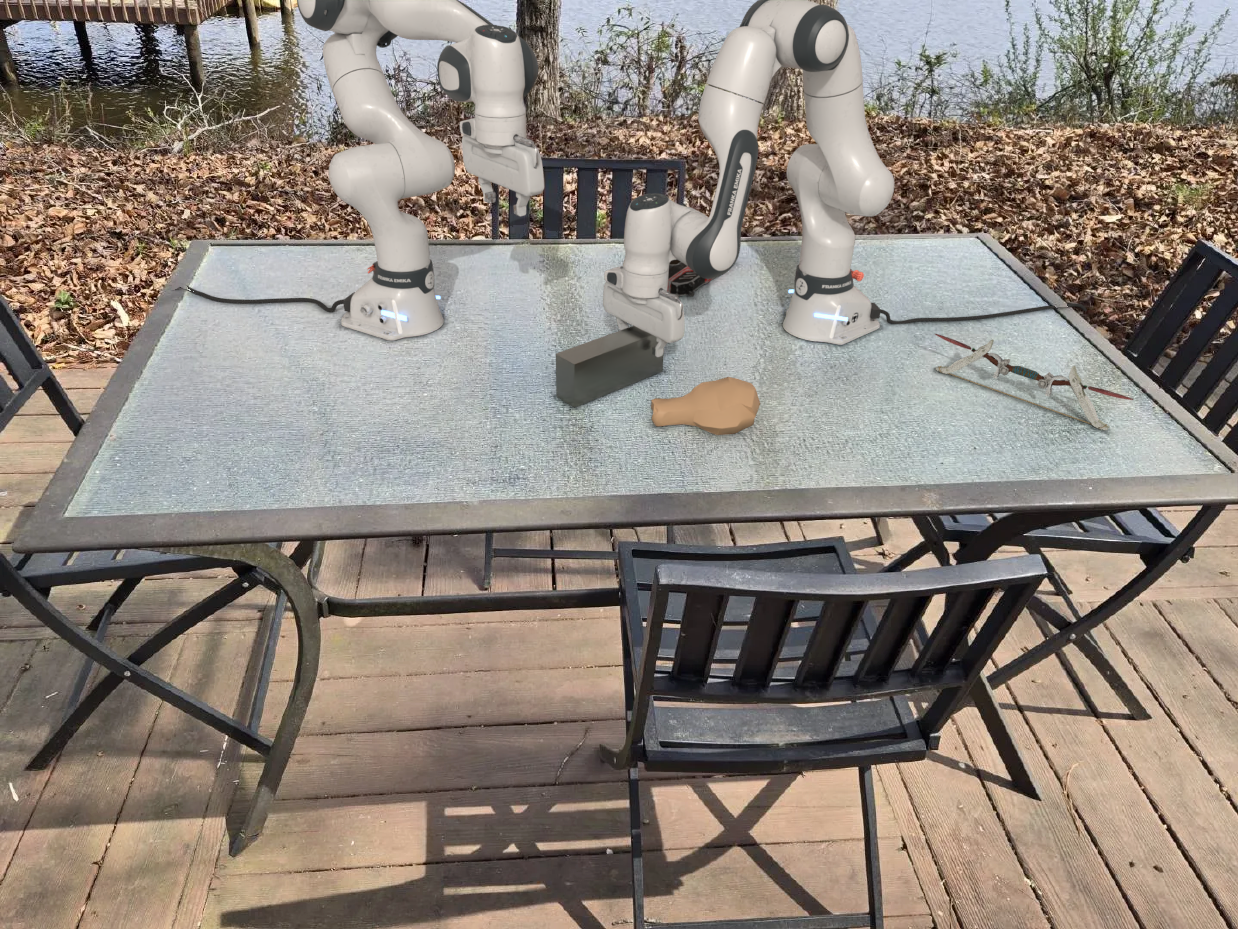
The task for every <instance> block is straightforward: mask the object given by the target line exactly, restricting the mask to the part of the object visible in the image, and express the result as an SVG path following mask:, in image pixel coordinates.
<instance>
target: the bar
mask: <svg viewBox="0 0 1238 929" xmlns="http://www.w3.org/2000/svg"><path fill="white" fill-rule="evenodd" d="M656 339H657V337H655V336H653V335H651V334H649V333H647V332H645V331H643V330H641V329H639V328H637V327H635V326H633V325H631V326H628V328H626V329H623V330H618V331H615V332H612V333H609V334H606V335H604V336H601V337H598V338H595V339H592V340H590V341H587V342H584V343H581V344H579V345H575V346H573V347H570V348H567V349H565V350H562V351H559V352H557V353H555V395H556V398H557V399H559V400H561V401H562V402H564V403H565V404H567V405H568V406H570V407H572V408H574V409H575V408H578V407H580V406H583V405H585V404H588V403H591V401H592V402H593V401H595V400H597V399H600V398H602V397H605V396H607V395H609V394H612V393H615V392H616V391H617V392H618V391H619V390H622V389H624V388H627V387H629V386H632V385H634V384H636V383H639V382H641V381H643V380H646V379H649V378H651V377H653V376H655V375H658V374H660V373H661V374H662V373H663V372H664V358H665V357H664V355H665V350H664V351H663V355H662V356H660V357H657V356H655V355H653V354H652V347H654V346H656V345H657V344H658V342H657V341H656Z"/></svg>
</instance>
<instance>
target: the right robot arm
mask: <svg viewBox="0 0 1238 929" xmlns="http://www.w3.org/2000/svg"><path fill="white" fill-rule="evenodd" d="M781 68H790V69H796V70H802V85H803V86H802V87H803V99H804V100H803V101H804V110H805V111H804V112H805V125H806V129H807V132H808V134H809V135H810V137H811V139H812V140H813V141H814V142H815V143H805V144H803V145H801V146H799V147H798V148H796V149H795V151H794V152H793V153H792V155H791V156H790V158H789V160H788V163H787V166H786V179H787V182H788V184H789V185H790V187H791V189H792V190H793V193H794V194H795V197H796V200H797V203H798V208H799V212H800V219H801V228H802V230H801V232H802V233H801V244H800V245H801V246H800V252H799V262H798V264H797V265H796V268H795V273H794V280H793V281H794V286H793V289H788V294H791V299H790V302H789V306H788V309H787V310H786V312H785V317H784V319H783V322H782V328H783V329H784V331H786V332H787V333H788V334H790V335H791V336H793V337H796V338H799V339H801V340H805V341H811V342H819V343H827V344H828V343H829V344H833V345H839V346H841V345H842V346H843V345H845V344H848V343H849V342H852V341H855V340H857V339H860V338H861V337H863V336H866V335H868V334H870V333H872V332H874V331H877V330H878V329H881V328H880V327H881V324H880V321H879V319H880V317H881V315H884V316H885V319H886V322H887V323H888V324H891V325H907V324H913V323H923V322H924V323H927V322H929V323H930V322H961V321H962V322H963V321H975V320H976V321H977V320H985V319H986V320H987V319H995V318H1000V317H1001V318H1002V317H1006V316H1007V317H1008V316H1014V315H1020V314H1027V313H1032V312H1040V311H1046V310H1053V309H1055V310H1056V309H1057V308H1056V307H1055V306H1049V305H1043V306H1036V307H1029V308H1022V309H1016V310H1009V311H1003V312H997V313H990V314H980V315H970V316H956V317H955V316H954V317H916V318H915V317H914V318H910V319H904V320H892V319H891V314H890V312H888V311H887V310H884V309H881V308H880V307H879V306H878V305H877V304H876V302H871V300H870V298H869V297H868V296H867V295H866V294H864V293H863V292H862V291H861V290H860V289H859V288H858V287H856V285H855V284H854V280H855V281H857V282H861V281H862V280H863V279H864V278H865V274H864V272H862V271H859V270H858V269H855V270H853V269H851V267H852V264H853V263H852V262H853V256H854V250H855V245H856V235H855V234H856V233H855V232H854V230H853V227H852V226H851V224H850V223H849V220H848V219H847V216H846V214H849V215H852V216H861V217H875V216H877V215H879V214H881V213H882V212H883V211H884V210H885V209H886V208H887V207H888V206H889V204H890V202H891V201H892V198H893V195H894V193H895V192H894V191H895V179H894V174H893V173H892V171H891V170H889V168H888V167H887V166H886V165H885V163H884V162H883V161H882V159H881V157H880V156H879V154H878V152H877V150H876V147H875V145H874V143H873V139H872V137H871V135H870V132H869V128H868V125H867V119H866V113H865V112H866V111H865V110H866V109H865V98H864V80H863V78H864V77H863V66H862V58H861V52H860V46H859V42H858V37H857V34H856V32H855V30H854V29H853V28H852V26H850V25H849V24H848V23H847V21H846V19H845V17H844V16H843V14H842V13H841V12H839V10H837V9H835V8H834V7H832V6H830V5H827V4H819V3H817V2H814V1H810V0H757V1H755V2H753V3H752V5H750V6H749V8H748V10H747V11H746V13H745V14H744V16H743V18H742V21H741V23H740V24H739V27H736V28H734V29H733V30H731V31H729V33H728V35H727V36H726V38H725V40H724V41H723V43H722V45H721V47H720V49H719V50H718V52H717V55H716V57H715V59H714V61H713V64H712V66H711V68H710V72H709V74H708V77H707V79H706V84H705V86H704V89H703V92H702V94H701V98H700V101H699V106H698V115H697V120H698V124H699V128H700V130H701V132H702V134H703V136H704V138H705V139H706V141H707V143H708V144H710V146H711V148H712V150H713V152H714V153H715V156H716V158H717V162H718V166H719V167H718V168H719V174H718V180H717V184H716V188H715V192H714V195H713V196H714V197H713V201H712V206H711V209H710V213H709V216H707V215H706V214H705V213H703V212H701V211H699V210H697V209H695V208H693V207H691V206H685V205H681V204H679V203H677V202H675V201H673V200H672V199H670V198H669V197H668V196H667V195H665V194H663V193H658V192H657V193H651V192H649V193H645V194H642V195H639V196H637V197H635V198H633V200H631V202H630V203H629V205H628V208H627V211H626V215H625V221H624V231H623V232H624V234H623V247H624V254H625V255H624V258H623V262H622V265H619V266H616V267H613V268H610V269H607V270H605V271H604V274H603V277H604V279H603V280H604V281H605V282H604V285H603V291H602V307H603V309H604V311H605V313H607V314H609V315H611V316H613V317H614V318H616V325H617V327H618V331H620V330H623V329H626V328H628V327H629V325H628V324H630V325H631V326H635V327H637V328H639V329H641V330H643V331H645V332H647V333H649V334H651V335H653V336H655V337H657V339H656V341H657V342H658V344H657V345H656V346H654V347H652V354H653V355H655V356H657V357H660V356H662V355H663V351H664V352H665V347H666V346H667V344H673V343H676V342H679V341H681V340H682V339H683V338H685V335H686V334H685V332H686V331H685V330H686V320H685V319H686V318H685V309H684V303H683V302H682V300H681V299H680V296H677V295H675V294H671V293H670V292H668V291H667V288H668V273H669V263H670V261H672V260H679V261H681V262H682V263H684V264H685V265H687V266H689V268H690V269H692V270H693V271H694V272H695V273H696V274H698V275H699V276H700V277H702V278H705V279H713V280H714V279H717V278H719V277H722V276H723V275H725V274H726V273H728V272H729V271H730V270H731V269H732V268H733V267H734V266H735V264H736V262H737V261H738V258H739V256H740V251H741V242H742V230H743V228H742V227H743V222H744V218H745V214H746V210H747V206H748V202H749V198H750V193H751V190H752V187H753V186H752V185H753V181H754V177H755V173H756V168H757V164H758V159H759V158H758V157H759V142H758V130H759V124H760V119H761V115H762V111H763V108H764V104H765V102H766V99H767V96H768V93H769V89H770V86H771V83H772V79H773V77H774V76H775V74H776V73H777V72H778V70H780V69H781ZM1066 304H1067V306H1068V307H1067V308H1079V309H1081V311H1083V312H1087V311H1088V309H1087V307H1086V306H1085V305H1083V304H1081V303H1078V302H1070V303H1066Z"/></svg>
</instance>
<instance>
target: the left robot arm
mask: <svg viewBox="0 0 1238 929" xmlns="http://www.w3.org/2000/svg"><path fill="white" fill-rule="evenodd" d="M296 3H297V4H296V5H297V8H298V11H299V14H300V16H301V17H302V20H303V21H304V23H306V25H308V26H309V27H311V28H314V29H317V30H319V31H322V32H328V31H329V32H332V33H333V34H332V35H330V36H329V37H328V38H327V39H326V40H325V42H324V43H323V46H322V58H323V63H324V64H323V65H324V69H325V72H326V77H327V81H328V83H329V87H330V89H331V92H332V94H333V97H334V98H335V101H336V104H337V107H338V109H339V111H340V112H339V113H340V114H341V117H342V119H343V123H344V124H345V126H346V128H347V129H348V130H349V131H350V132H351V133H352V134H353V135H356V137H359V138H360V139H364V140H366V141H369V142H371V144H365V145H357V146H353V147H351V148H348V149H344V150H342V151H340V152H337V153H335V154H334V155H333V157H332V158H331V160H330V163H329V165H328V166H329V167H328V180H329V184H330V186H331V188H332V190H333V192H334V193H335V195H336V196H337V197H338V198H339V199H340V200H341V201H342V202H344V203H346V204H347V205H349V206H351V207H353V208H354V209H355V210H356V211H358V212H359V213H360V214H361V215H362V216H363V218H364V220H365V221H366V222H367V224H368V226H369V228H370V231H371V234H372V238H373V239H372V240H373V243H374V248H375V253H376V254H375V255H376V261H374V262H373V263H372V265H371V266H369V267H368V268H367V274H370V273H372V277H371V278H370V279H369V280H367V282H365V283H364V284H363V285H362V286H360V287H359V288H358V289H356V290H355V291H353V292H352V293H351V294H349V295H348V296H347V297H345V298H343V299H338V300H336V301H334V302H333V303H332V305H331V307H328V306H327V305H325V303H323V301H321V300H318V299H316V298H311V297H282V298H281V297H280V298H260V299H259V298H258V299H239V298H237V299H236V298H224V297H218V296H214V295H211V294H208V293H205V292H203V291H200V290H197V289H195V288H192V287H190V286H188V285H186V286H187V287H188V289H190V290H191V291H189V290H186V292H189V293H191V294H193V295H196V296H199V297H202V298H204V299H206V300H209V301H212V302H218V303H222V304H223V303H224V304H233V305H234V304H236V305H245V304H246V305H259V304H261V305H262V304H283V303H284V304H285V303H286V304H287V303H311V304H315V305H317V306H318V307H319V308H321V309H322V310H323V311H325V312H327V313H333V312H335V311H336V310H337V307H338V306H340V305H343V309H344V310H343V311H344V312H346V313H344V314H343V316H342V317H341V320H340V324H341V326H342V327H344V328H347V329H350V330H354V331H357V332H360V333H364V334H367V335H370V336H373V337H377V338H380V339H383V340H387V341H396V340H397V341H398V340H401V339H404V338H412V337H420V336H423V335H427V334H430V333H431V334H432V333H434V332H436V331H437V330H439V329H441V327H442V326H443V325H444V323H445V320H444V317H443V314H442V312H441V310H440V307H439V303H438V300H441V295H436V291H435V271H434V264H433V260H432V259H431V253H430V243H429V232H428V229H427V226H426V225H425V223H424V222H423V221H422V220H421V219H420V218H419V217H417V216H415V215H412V214H410V213H407V212H404V211H400V208H399V201H400V200H402V199H409V198H416V197H420V196H426V195H427V196H428V195H431V194H435V193H436V192H440V191H441V190H443V189H446V188H448V187H450V186H451V184H452V182H453V180H454V177H455V174H456V163H455V159H454V155H453V153H452V151H451V150H450V147H448V146H447V145H446V143H444V142H443V141H442V140H440V139H437V138H435V137H432V136H431V135H428V134H427V133H425V132H424V131H423V130H421V129H419V128H418V127H417V126H416V125H415V124H414V123H412V121H410V119H408V118H407V116H406V115H405V114H404V112H403V111H402V110H401V108H400V107H399V105H398V103H397V101H396V99H395V96H394V95H393V92H392V90H391V88H390V86H389V83H388V81H387V78H386V76H385V74H384V71H383V69H382V67H381V64H380V62H379V59H378V56H377V47H378V48H382V49H385V48H387V47H389V46H390V45H391V44H392V41H393V40H394V39H396V38H398V37H400V38H402V39H405V40H409V41H410V40H412V41H445V42H451V44H449V45H446V46H445V47H444V48H443V49H442V51H441V53H440V54H439V57H438V60H437V66H436V70H437V71H436V72H437V79H438V84H439V86H440V88H441V90H442V91H443V93H445V95H446V96H447V97H448V98H449V99H450V100H452V101H454V102H459V103H471V102H473V104H474V117H473V118H468V119H466V120H461V121H459V132H460V134H462V138H461V150H462V162H463V166H464V168H465V170H466V173H468V174H470V175H473V176H475V177H478V180H477V181H478V184H479V187H480V189H481V192H482V195H483V196H482V197H483V202H485V203H487V204H493V203H496V202H497V198H496V197H497V194H496V192H495V191H494V189H493V186H492V183H493V184H495V185H498V186H500V187H503V188H505V189H508V190H510V191H512V192H515V198H517V201H516V204H512V205H513V206H512V207H513V208H512V209H513V214H514V215H515V216H518V217H525V216H526V215H527V205H528V203H529V201H530V200H531V197H533V196H537V195H541V194H542V193H543V192H544V190H545V175H544V168H543V167H544V166H543V160H542V156H541V153H540V151H539V148H537V146H536V144H535V142H534V140H532V139H530V138H527V110H526V106H525V102H524V98H525V97H526V96H527V95H528V94H529V93H530V92H531V91H532V89H533V87H534V86H535V84H536V81H537V79H538V75H539V62H538V58H537V55H536V54H535V51H534V50H533V49H532V47H531V45H530V44H529V43H528V42H527V41H526V40H525V39H524V38H522V37H520V36H519V35H518V33H517V32H516V31H515V30H513V29H512V28H509V27H508V26H504V25H497V24H494V23H492V22H491V21H489V19H487V18H486V17H484V16H483V15H481V14H480V13H479V12H477V11H476V10H475V9H473V8H471V7H470V6H469V5H468V4H466V3H464V2H462V1H461V0H296ZM372 143H373V144H372ZM193 291H194V292H193Z"/></svg>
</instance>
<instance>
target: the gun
mask: <svg viewBox="0 0 1238 929" xmlns="http://www.w3.org/2000/svg"><path fill="white" fill-rule="evenodd" d="M712 280H714V279H705V278H702V277H700V276H699V275H698V274H696V273H695V272H694V271H693V270H692V269H690V268H689V266H687V265H685V264H684V263H682V262H681V261H679V260H672V261H670V263H669V273H668V288H667V291H668V292H670V293H671V294H675V295H677V296H678V297H682V296H688V297H691V298H693V297H694V296H695V291H696V290H698V289H700V287H702V286H703V285H707V284H709V283H710V282H711V281H712Z"/></svg>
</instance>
